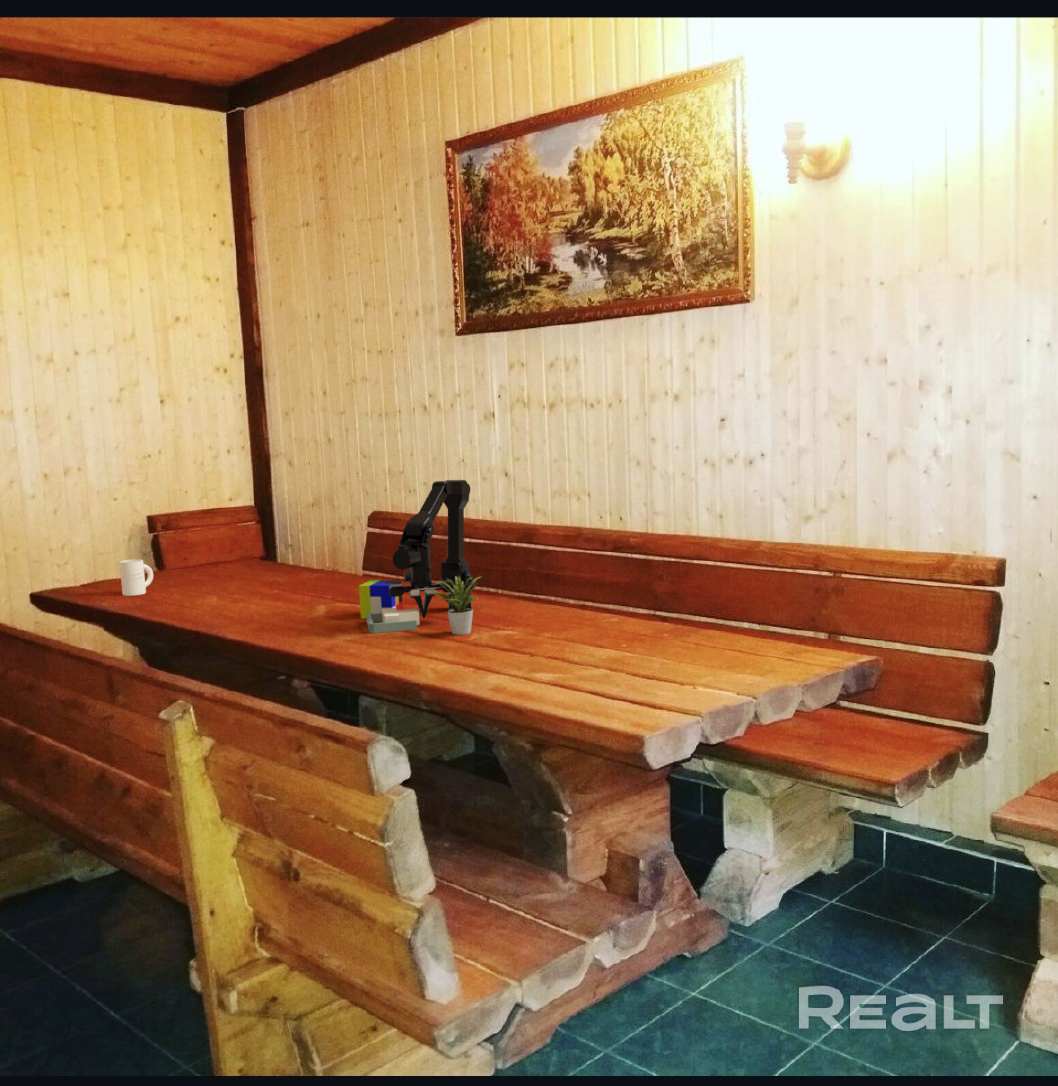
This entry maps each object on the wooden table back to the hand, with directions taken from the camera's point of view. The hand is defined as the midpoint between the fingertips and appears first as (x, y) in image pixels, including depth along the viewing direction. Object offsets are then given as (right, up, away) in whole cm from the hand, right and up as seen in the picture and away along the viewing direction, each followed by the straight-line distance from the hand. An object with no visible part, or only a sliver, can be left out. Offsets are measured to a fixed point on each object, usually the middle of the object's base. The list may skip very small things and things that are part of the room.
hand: (423, 617), depth 322 cm
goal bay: (-10, -2, -2) cm, 10 cm away
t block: (-7, -2, -1) cm, 8 cm away
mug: (-110, +3, +80) cm, 137 cm away
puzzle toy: (-14, -1, +16) cm, 21 cm away
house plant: (+12, -3, -15) cm, 19 cm away
